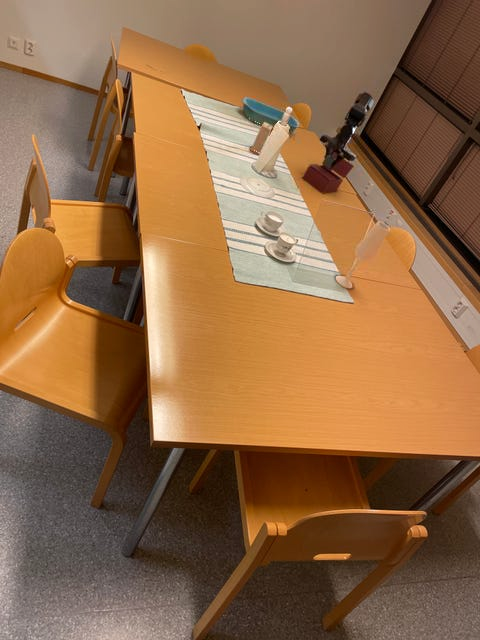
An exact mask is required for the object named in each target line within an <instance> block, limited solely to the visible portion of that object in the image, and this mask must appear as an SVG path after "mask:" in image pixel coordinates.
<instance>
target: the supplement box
mask: <svg viewBox="0 0 480 640" xmlns="http://www.w3.org/2000/svg"><path fill="white" fill-rule="evenodd" d="M272 127H273V126H272V125H270V124H268V123H266V122H264V123H263V124H262V125H260V129H259V131H258V133H257V135H256V136H255V137H256V138H255V140H254V142H253V144H252V146H251V148H250V152H252V153H254V154H256V155H260V154H261V151H262V150H263V148H264V146H265V144H266V142H267V140H268V138H269V136H270V133H271V131H272V130H273V129H272ZM254 150H255V151H254ZM256 151H257V152H256ZM258 152H260V153H258Z"/></svg>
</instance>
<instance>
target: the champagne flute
mask: <svg viewBox="0 0 480 640" xmlns="http://www.w3.org/2000/svg"><path fill="white" fill-rule="evenodd" d="M390 230H391V229H390V227H389V226H388V225H387V224H386V223H384V222H383V221H376V223H375V224H374V225H373V226H372V227H371V229H370V230H369V231H368V232H367V233H366V235H365V236H364V237H363V238H362V240H361V241H360V242H358V244H357V246H356V247H355V251H354V252H355V258H356V261H355V263H354V264H353V266H352V267H351V269H350V270H349V271H348V273H347V274H346V276H344V275H337V276H335V280H336V281H337V283H338V284H339V285H340V286H341V287H343V288H346V289H353V283H352V282H351V280H350V277H351V276H352V275H353V274H354V272H355V271H356V269H357V267H358V266H359V265H360V264H361V263H365V262H369V261H372V260H374V258H375V256H376V254H377V253H378V251H379V249H380V247H381V246H382V244H383V242H384V240H385V238H386V237H387V236H388V234H389V232H390Z"/></svg>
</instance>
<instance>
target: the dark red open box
mask: <svg viewBox="0 0 480 640" xmlns="http://www.w3.org/2000/svg"><path fill="white" fill-rule="evenodd" d="M302 179H303V180H304V181H305V182H307V183H308V184H310V185H311V186H312V187H314V189H316V190H317V191H319V192H320V193H321V194H326V193H334V192H337V191H338V189H339V188H340V186H341V184H342V183H343V181H344V178H343V177H341V176H340V175H339V174H337V173H336V172H335V171H333V170H332V171H331V170H329V169H328V168H327V167H325V166H324V165H323V164H322V165H321V164H320V165H319V164H317V163H312V164H309V165H308V166H307V168H306V170H305V172H304V174H303V176H302Z"/></svg>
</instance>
